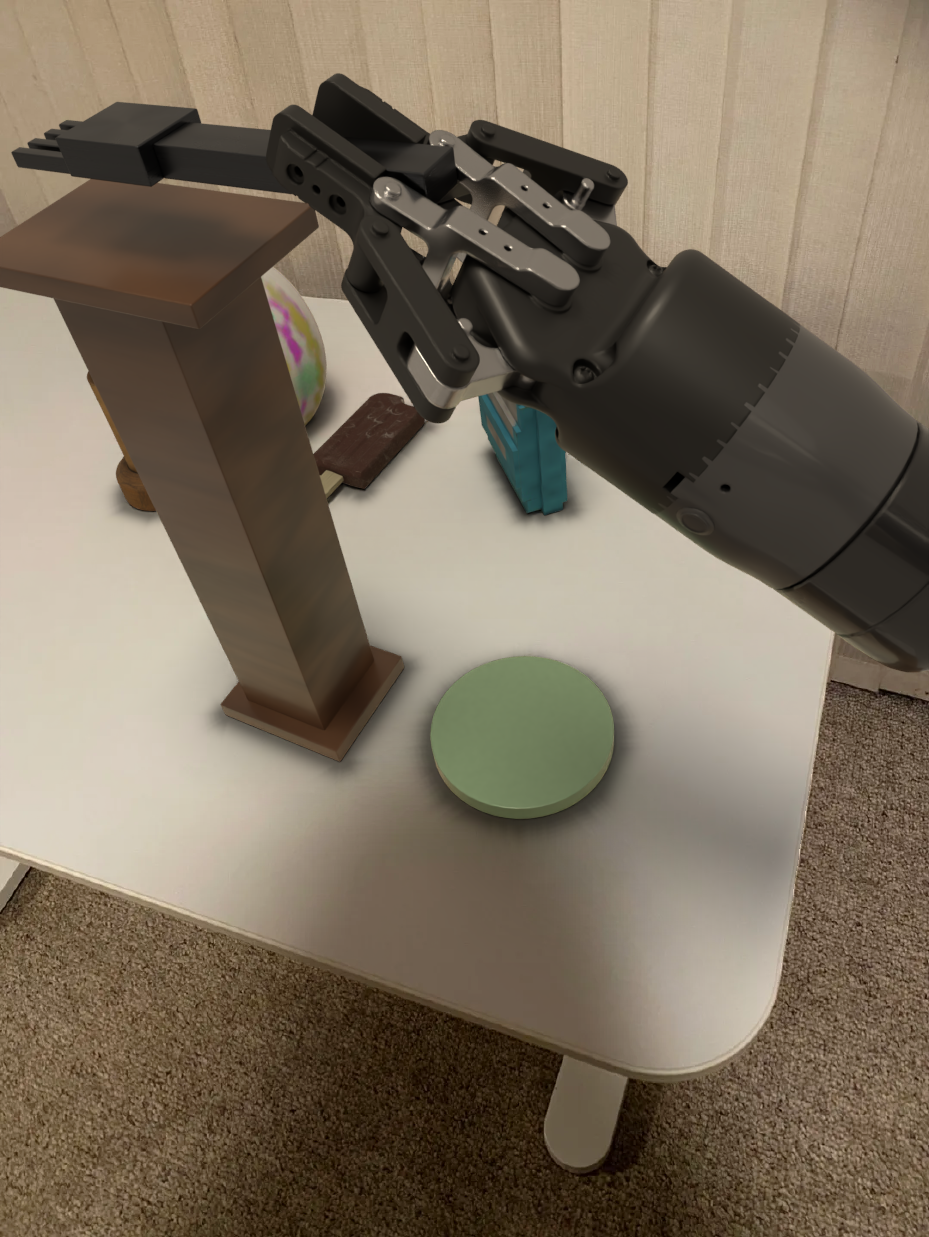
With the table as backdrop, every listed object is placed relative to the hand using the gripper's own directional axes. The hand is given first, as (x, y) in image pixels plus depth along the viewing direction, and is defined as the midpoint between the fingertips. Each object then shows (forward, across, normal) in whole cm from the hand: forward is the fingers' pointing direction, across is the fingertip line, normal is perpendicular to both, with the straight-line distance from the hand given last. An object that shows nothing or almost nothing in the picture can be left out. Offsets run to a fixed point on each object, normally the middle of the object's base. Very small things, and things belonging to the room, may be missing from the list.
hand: (299, 118), depth 30 cm
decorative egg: (+8, -24, +46) cm, 53 cm away
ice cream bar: (-1, -21, +41) cm, 46 cm away
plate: (-22, -2, +29) cm, 36 cm away
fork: (+2, 0, +4) cm, 4 cm away
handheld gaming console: (-13, -24, +34) cm, 44 cm away
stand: (-10, 0, +36) cm, 37 cm away
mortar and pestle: (+11, -13, +48) cm, 51 cm away
